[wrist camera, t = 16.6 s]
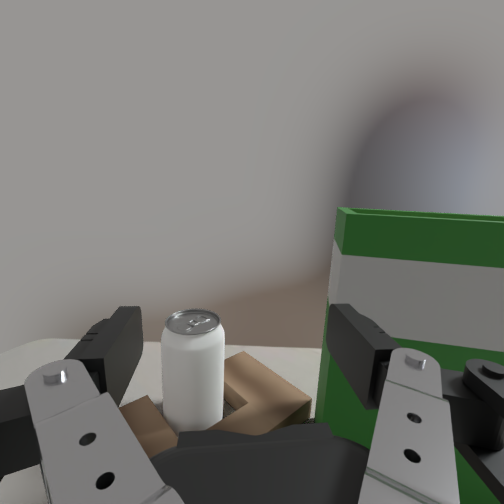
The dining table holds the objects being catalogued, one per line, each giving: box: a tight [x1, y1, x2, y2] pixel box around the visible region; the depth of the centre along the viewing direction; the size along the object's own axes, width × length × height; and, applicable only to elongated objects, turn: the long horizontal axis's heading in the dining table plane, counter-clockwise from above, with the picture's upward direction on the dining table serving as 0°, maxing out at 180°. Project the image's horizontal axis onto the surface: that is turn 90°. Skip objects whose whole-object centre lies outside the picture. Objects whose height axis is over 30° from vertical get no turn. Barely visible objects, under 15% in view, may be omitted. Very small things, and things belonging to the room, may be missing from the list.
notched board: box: [118, 351, 312, 458], centre depth 30 cm, size 20×12×2 cm, turn 132°
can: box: [161, 309, 225, 437], centre depth 30 cm, size 6×6×12 cm
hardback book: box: [315, 207, 504, 504], centre depth 25 cm, size 18×7×24 cm, turn 78°
